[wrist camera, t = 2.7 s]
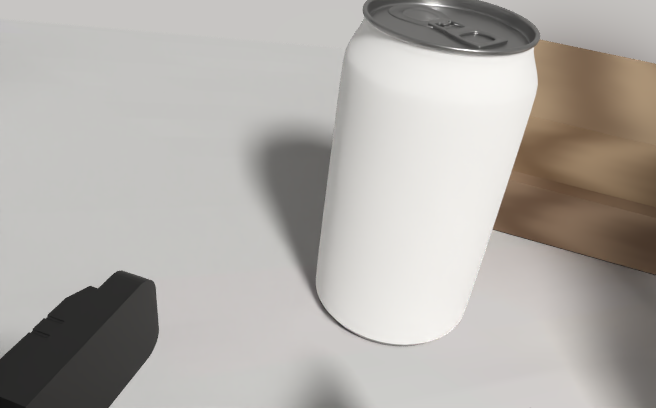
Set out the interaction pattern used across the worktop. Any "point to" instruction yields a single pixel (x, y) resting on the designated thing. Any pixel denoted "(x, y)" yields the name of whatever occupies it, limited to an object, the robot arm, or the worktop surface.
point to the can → (421, 162)
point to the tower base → (579, 222)
